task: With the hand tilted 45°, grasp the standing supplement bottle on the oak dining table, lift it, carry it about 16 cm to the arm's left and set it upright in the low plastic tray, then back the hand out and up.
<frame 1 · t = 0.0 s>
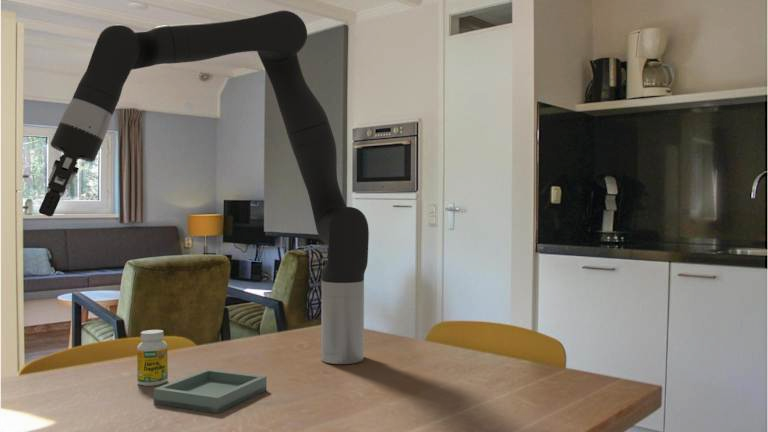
hand: (45, 214, 108), 31 cm above the table, tool tilted 20°, fingers open, 8 cm apart
supplement bottle: (152, 383, 117), on the table
tray: (212, 396, 108), on the table
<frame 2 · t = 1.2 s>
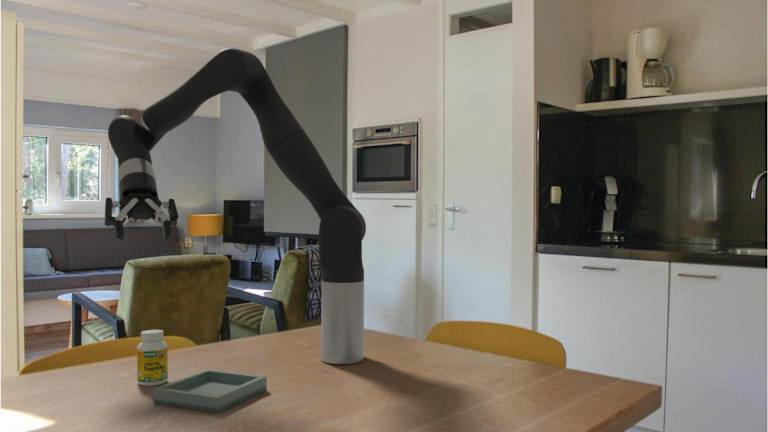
hand: (144, 238, 126), 27 cm above the table, tool tilted 45°, fingers open, 8 cm apart
nothing on the table moved.
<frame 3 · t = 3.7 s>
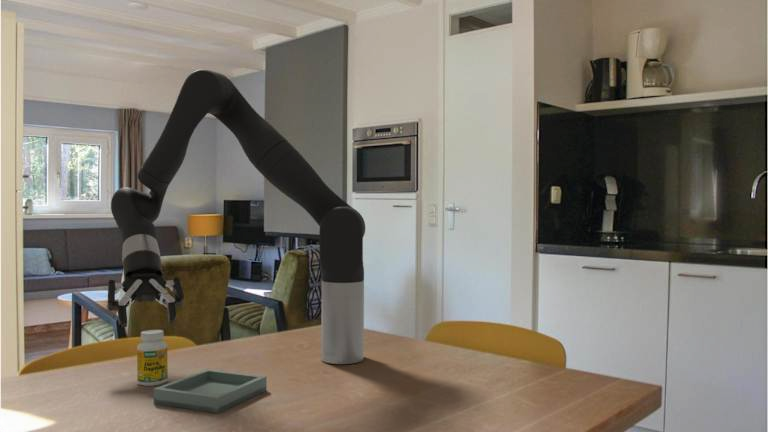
hand: (148, 323, 122), 10 cm above the table, tool tilted 45°, fingers open, 8 cm apart
nothing on the table moved.
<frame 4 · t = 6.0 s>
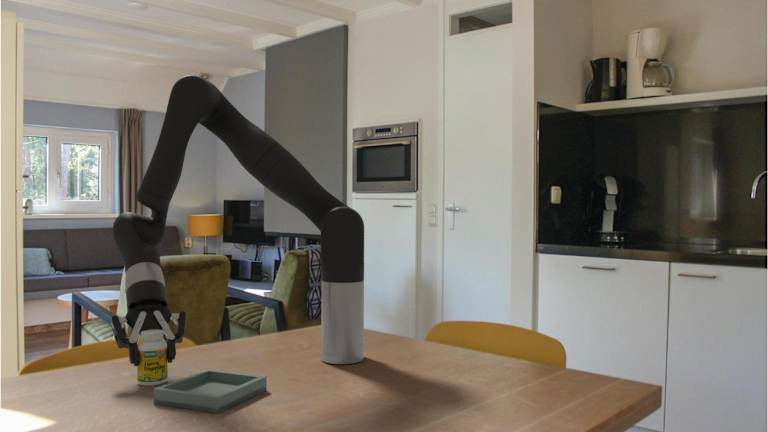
hand: (153, 361, 115), 4 cm above the table, tool tilted 45°, fingers closed on supplement bottle, 5 cm apart
supplement bottle: (152, 383, 117), on the table, touching gripper
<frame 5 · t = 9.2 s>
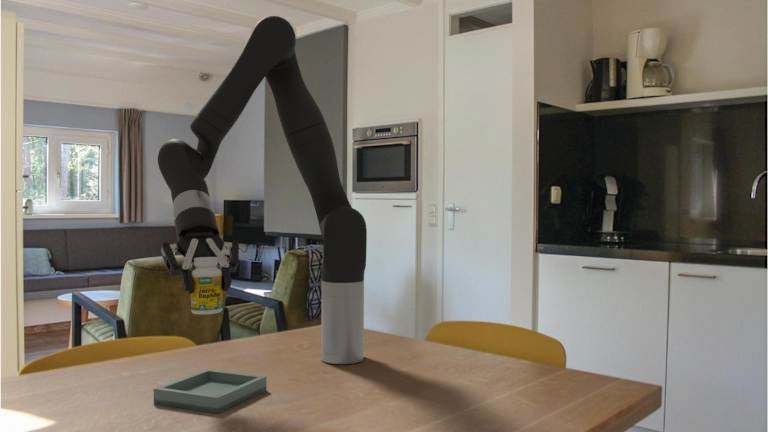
hand: (208, 289, 107), 19 cm above the table, tool tilted 45°, fingers closed on supplement bottle, 5 cm apart
supplement bottle: (206, 313, 109), point 14 cm above the table, touching gripper
when the fingers open (6 cm above the table, at t = 12.4 s): supplement bottle moves 1 cm, resting on tray.
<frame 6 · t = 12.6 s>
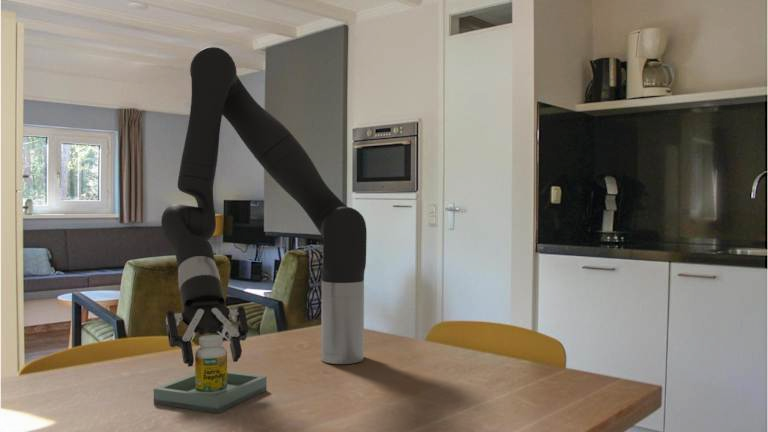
hand: (214, 361, 106), 6 cm above the table, tool tilted 45°, fingers open, 7 cm apart
supplement bottle: (211, 393, 108), point 1 cm above the table, touching tray
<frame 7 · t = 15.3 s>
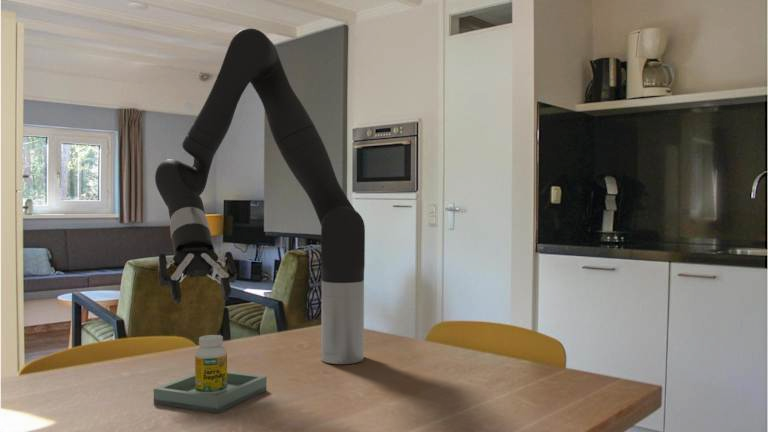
hand: (202, 299, 115), 16 cm above the table, tool tilted 45°, fingers open, 8 cm apart
nothing on the table moved.
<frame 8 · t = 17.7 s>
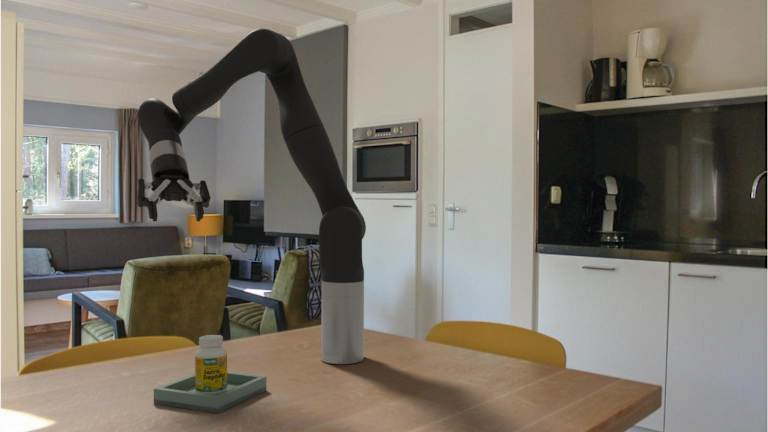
hand: (177, 218, 126), 31 cm above the table, tool tilted 45°, fingers open, 8 cm apart
nothing on the table moved.
at the end: supplement bottle inside the target area on the tray (0.2 cm from its centre), point 0.6 cm above the tray's base; supplement bottle tilted 0°; the gripper is holding nothing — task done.
